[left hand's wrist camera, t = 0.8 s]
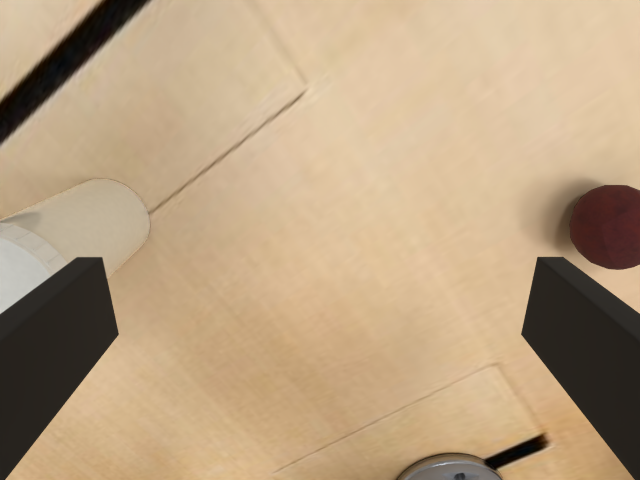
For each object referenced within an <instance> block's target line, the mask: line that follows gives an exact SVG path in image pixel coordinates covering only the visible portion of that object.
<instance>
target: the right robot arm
mask: <svg viewBox="0 0 640 480" xmlns="http://www.w3.org/2000/svg"><path fill="white" fill-rule="evenodd" d="M397 480H503V478H502V476H501V474H500V473H499V471H498V470H497V469H496V468H495V467H494V466H492V465H491V464H490V463H488V462H487V461H485V460H483V459H480V458H478V457H474V456H470V455H464V454H444V455H438V456H433V457H430V458H427V459H424V460H422V461H420V462H418V463H416V464H414V465H412V466H411V467H409V468H408V469H407V470H405V471H404V472H403V473H402V474H401V475H400V476H399V478H398V479H397Z"/></svg>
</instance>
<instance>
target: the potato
mask: <svg viewBox="0 0 640 480" xmlns="http://www.w3.org/2000/svg"><path fill="white" fill-rule="evenodd" d="M570 237H571V240H572V242H573V244H574V245H575V247H576V248H577V250H578V252H580V253H581V254H582V255H583V256H584V257H585V258H586V259H587V260H589V261H590V262H591V263H594V264H596V265H599V266H602V267H604V268H607V269H615V270H621V269H627V268H632V267H635V266H637V265H640V190H637V189H635V188H632V187H630V186H627V185H604V186H601V187H598V188H595V189H593V190H591V191H589V192H588V193H586V194H585V195H584V196H583V197H581V198H580V200H579V201H578V203H577V204H576V206H575V207H574V211H573V214H572V218H571V221H570Z"/></svg>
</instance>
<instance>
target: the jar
mask: <svg viewBox="0 0 640 480" xmlns="http://www.w3.org/2000/svg"><path fill="white" fill-rule="evenodd" d="M0 223H7V224H13V225H15V226H18V227H21V228H24V229H26V230H28V231H31V232H32V233H34V234H36V235H38V236H39V237H41V238H43V239H44V240H45V241H47V242H48V243H49V244H51V245H52V246H53V247H54V248H55V249H56V250H57V251H58V252H59V253H60V254H61V255H62V257H63V258H64V259H65V260H66V262H67V263H70V262H71V261H72V260H74V259H75V258H76V257H103V262H104V267H105V272H106V276H107V279H108V278H109V277H110V276H112V275H113V274H114V273H115V272H116V271H117V270H118V269H119V268H120V267H121V266H122V265H123V264H124V263H125V262H126V261H127V260H128V259H129V258H130V257H131V256H132V255H134V254H135V253H136V252H137V251H138V250H139V249H140V248H141V247H142V246H143V245H144V243H145V242H146V240H147V238H148V235H149V231H150V219H149V214H148V211H147V209H146V207H145V205H144V203H143V201H142V200H141V199H140V197H139V196H138V195H137V194H136V193H135V192H134V191H132V190H131V189H130V188H128V187H127V186H125V185H123V184H121V183H119V182H117V181H114V180H110V179H103V178H97V179H91V180H87V181H85V182H83V183H80V184H78V185H76V186H74V187H71V188H69V189H67V190H65V191H62V192H60V193H58V194H56V195H53V196H51V197H49V198H47V199H44V200H42V201H40V202H38V203H35V204H33V205H31V206H29V207H26V208H24V209H22V210H20V211H17V212H15V213H13V214H11V215H8V216H6V217H4V218H2V219H0Z"/></svg>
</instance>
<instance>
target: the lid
mask: <svg viewBox="0 0 640 480" xmlns="http://www.w3.org/2000/svg"><path fill="white" fill-rule="evenodd" d="M67 264H68V263H67V262H66V260H65V259H64V258H63V257H62V255H61V254H60V253H59V252H58V251H57V250H56V249H55V248H54V247H53V246H52V245H51V244H49V243H48V242H47V241H45V240H44V239H43V238H41V237H39V236H38V235H36V234H34V233H32V232H31V231H28V230H26V229H24V228H21V227H18V226H15V225H13V224H7V223H0V314H1V313H2V312H4V311H5V310H6V309H8V308H9V307H10V306H12V305H13V304H14V303H16V302H17V301H18V300H20V299H21V298H22V297H24V296H25V295H26V294H28V293H29V292H30V291H32V290H33V289H35V288H36V287H37V286H39V285H40V284H41V283H43V282H44V281H45V280H47V279H48V278H49V277H51V276H52V275H53V274H55V273H56V272H57V271H59V270H60V269H62V268H63V267H64V266H66V265H67Z"/></svg>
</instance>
